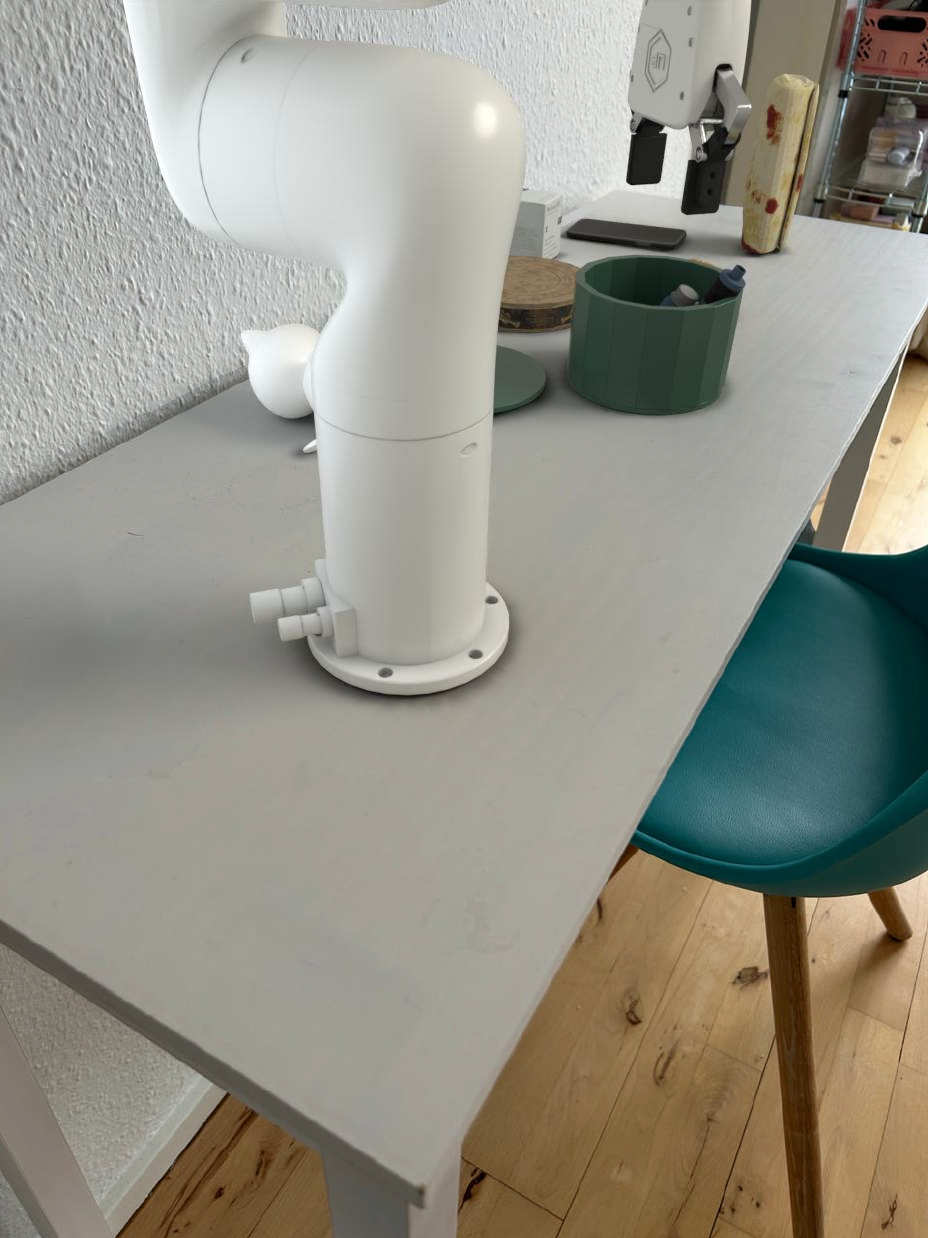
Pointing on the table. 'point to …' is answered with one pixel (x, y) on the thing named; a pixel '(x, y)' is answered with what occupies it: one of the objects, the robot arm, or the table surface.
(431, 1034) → the table surface
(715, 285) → the vaping device
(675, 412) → the waste tin
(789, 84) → the food model
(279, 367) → the cat figurine
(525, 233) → the white cardboard box
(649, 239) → the smartphone
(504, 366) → the tin lid
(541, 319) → the round wooden disc
